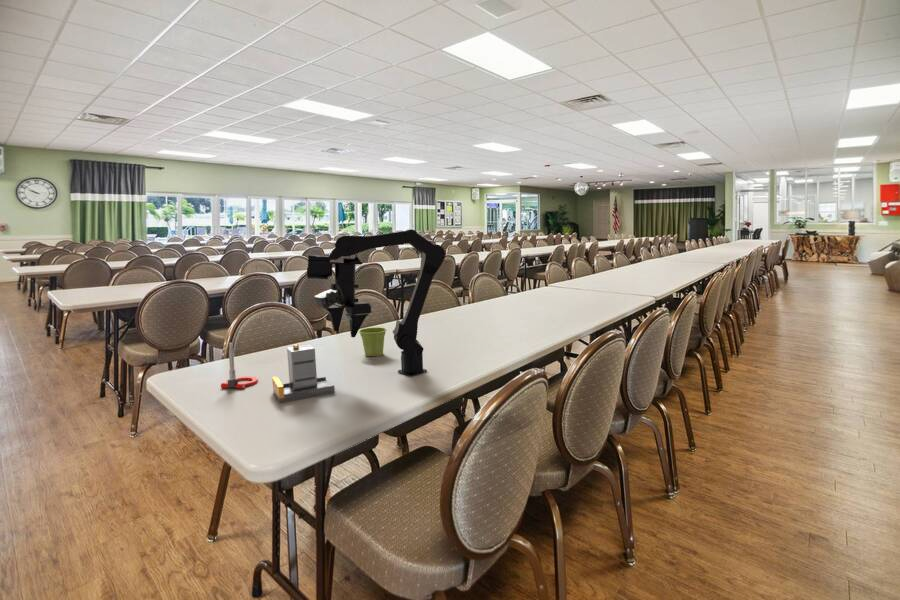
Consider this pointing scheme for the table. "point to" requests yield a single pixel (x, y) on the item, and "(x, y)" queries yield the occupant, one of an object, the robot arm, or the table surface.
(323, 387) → the grey channel rail
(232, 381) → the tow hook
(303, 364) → the grey grooved upright block
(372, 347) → the plant pot
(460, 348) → the table surface
